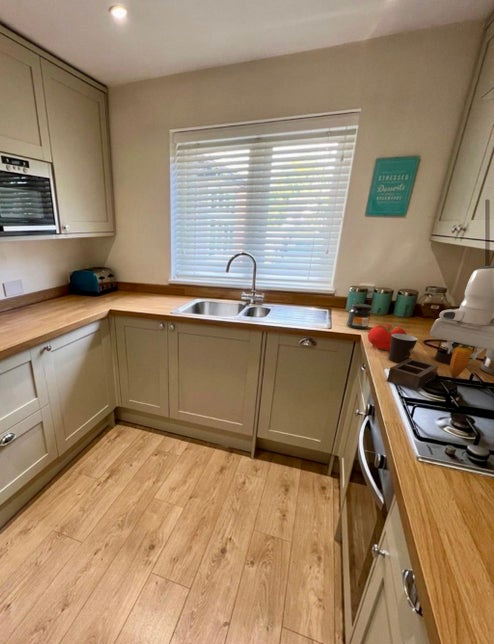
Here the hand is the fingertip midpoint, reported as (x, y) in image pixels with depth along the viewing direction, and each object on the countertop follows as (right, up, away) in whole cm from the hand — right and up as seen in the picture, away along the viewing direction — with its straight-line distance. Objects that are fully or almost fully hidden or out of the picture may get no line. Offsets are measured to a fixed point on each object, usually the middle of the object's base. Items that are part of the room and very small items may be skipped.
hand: (461, 356), depth 111 cm
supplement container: (0, +15, +67) cm, 69 cm away
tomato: (-4, +3, +35) cm, 36 cm away
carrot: (0, -8, +3) cm, 8 cm away
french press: (+14, -2, +22) cm, 26 cm away
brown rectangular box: (-14, -8, +4) cm, 17 cm away
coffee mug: (-6, -2, +21) cm, 22 cm away
